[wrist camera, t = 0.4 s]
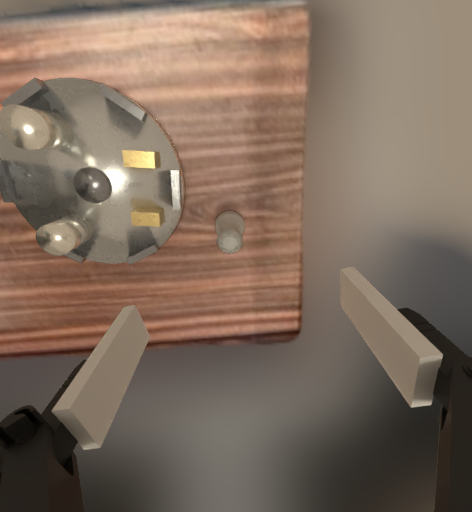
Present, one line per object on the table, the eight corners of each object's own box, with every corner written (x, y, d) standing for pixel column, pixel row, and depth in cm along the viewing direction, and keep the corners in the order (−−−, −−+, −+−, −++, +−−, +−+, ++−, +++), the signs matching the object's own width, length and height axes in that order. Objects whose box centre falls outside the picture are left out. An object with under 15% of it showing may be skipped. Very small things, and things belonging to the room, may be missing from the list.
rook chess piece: (215, 208, 34) (212, 224, 26) (246, 211, 34) (250, 227, 27) (214, 237, 36) (210, 259, 28) (242, 239, 36) (246, 262, 29)
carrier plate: (38, 256, 36) (1, 277, 30) (-22, 74, 26) (-94, 52, 21) (187, 261, 37) (179, 283, 31) (181, 88, 28) (168, 71, 22)
